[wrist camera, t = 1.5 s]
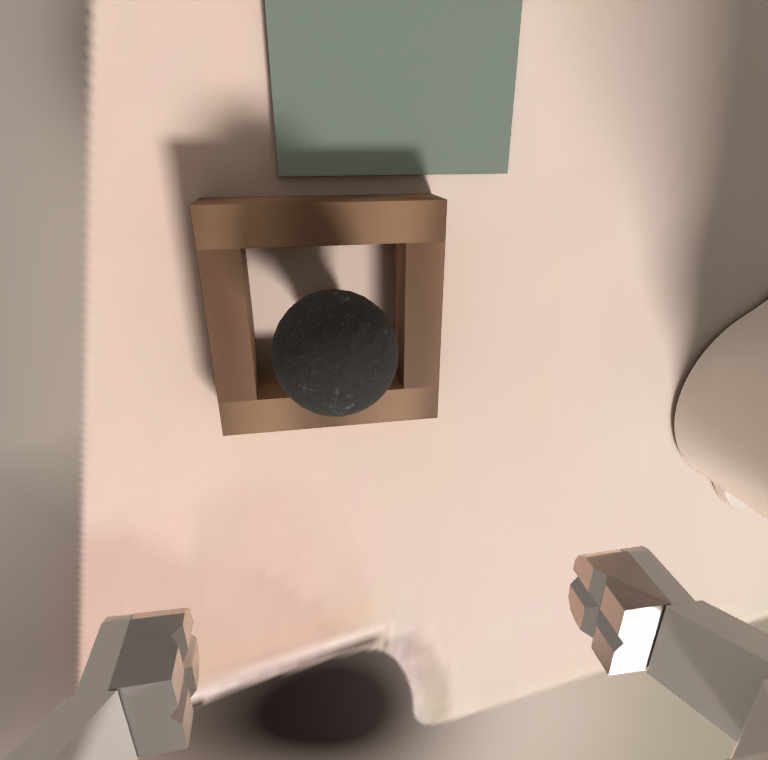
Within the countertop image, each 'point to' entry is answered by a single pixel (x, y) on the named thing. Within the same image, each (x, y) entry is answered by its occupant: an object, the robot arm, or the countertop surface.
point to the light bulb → (335, 353)
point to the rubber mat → (392, 85)
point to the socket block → (320, 228)
